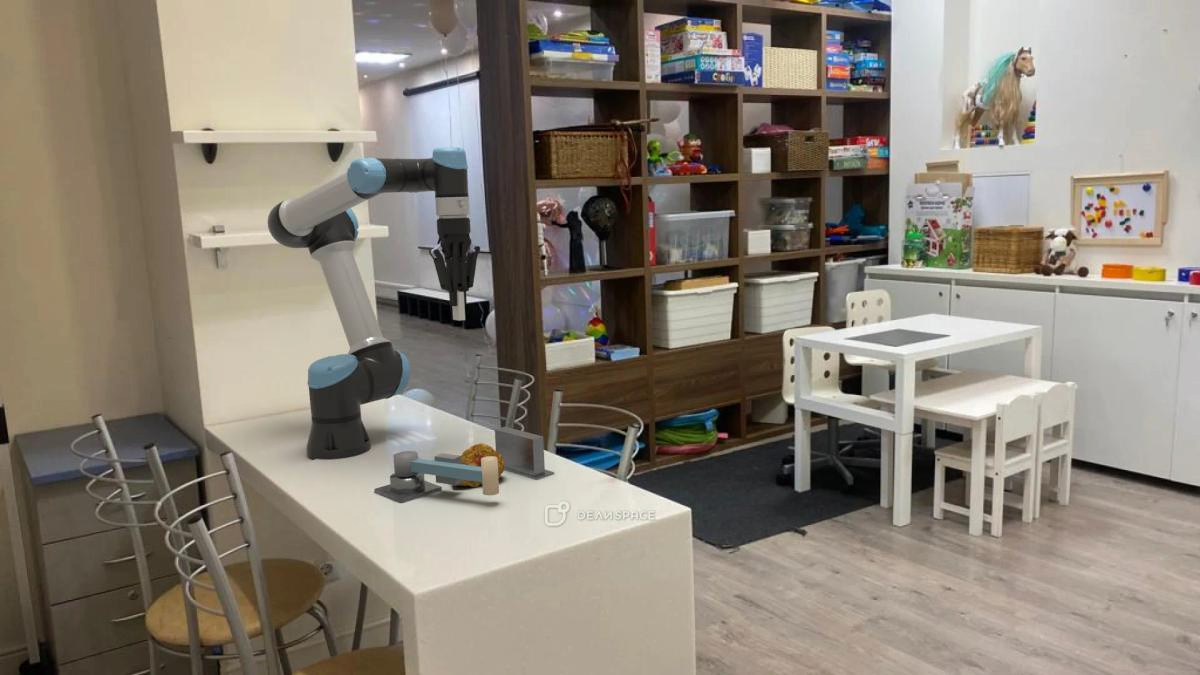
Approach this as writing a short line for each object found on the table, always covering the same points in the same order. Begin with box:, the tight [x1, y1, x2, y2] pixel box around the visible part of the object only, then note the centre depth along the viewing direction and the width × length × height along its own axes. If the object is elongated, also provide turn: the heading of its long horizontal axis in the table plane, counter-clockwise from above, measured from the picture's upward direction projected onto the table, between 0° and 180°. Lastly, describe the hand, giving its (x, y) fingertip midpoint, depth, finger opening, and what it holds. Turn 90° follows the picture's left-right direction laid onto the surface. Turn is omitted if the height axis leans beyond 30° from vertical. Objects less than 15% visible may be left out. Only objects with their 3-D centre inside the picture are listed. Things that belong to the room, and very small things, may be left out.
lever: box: [392, 450, 500, 496], centre depth 180 cm, size 25×6×7 cm, turn 63°
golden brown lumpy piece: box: [452, 442, 505, 488], centre depth 189 cm, size 11×8×10 cm
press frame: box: [373, 426, 555, 504], centre depth 188 cm, size 21×32×9 cm, turn 135°
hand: (459, 319), depth 205 cm, fingers closed
